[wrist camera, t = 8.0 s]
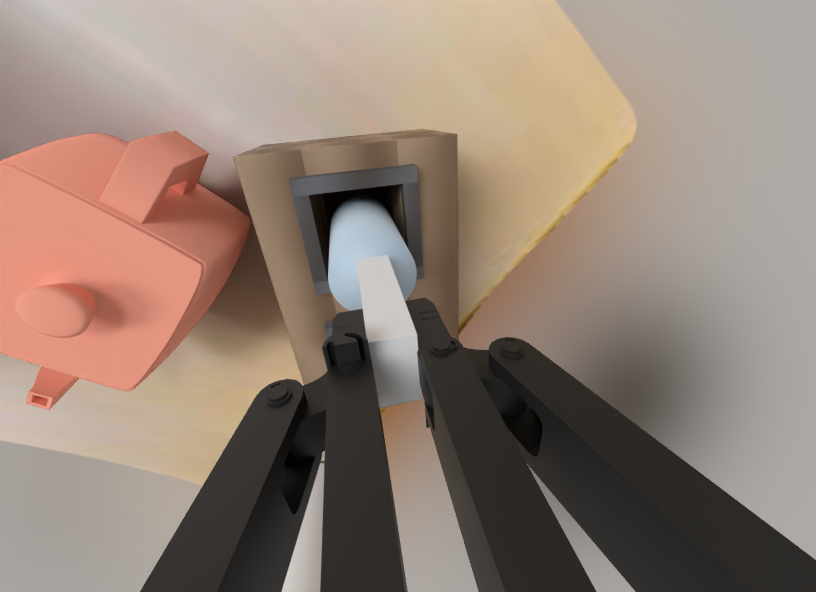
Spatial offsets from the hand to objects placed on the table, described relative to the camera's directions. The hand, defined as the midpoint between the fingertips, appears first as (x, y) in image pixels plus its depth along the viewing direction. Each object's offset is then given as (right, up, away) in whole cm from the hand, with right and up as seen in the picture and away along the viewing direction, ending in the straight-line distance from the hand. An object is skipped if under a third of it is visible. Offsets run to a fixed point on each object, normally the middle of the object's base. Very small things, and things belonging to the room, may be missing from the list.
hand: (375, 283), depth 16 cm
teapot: (-21, +5, +15) cm, 26 cm away
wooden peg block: (-3, +4, +19) cm, 19 cm away
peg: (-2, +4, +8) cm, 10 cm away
